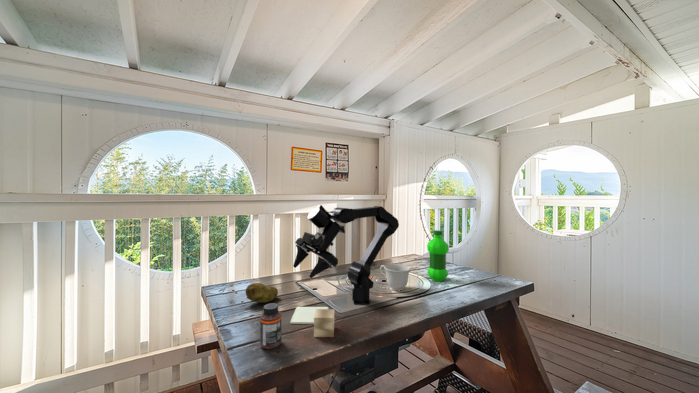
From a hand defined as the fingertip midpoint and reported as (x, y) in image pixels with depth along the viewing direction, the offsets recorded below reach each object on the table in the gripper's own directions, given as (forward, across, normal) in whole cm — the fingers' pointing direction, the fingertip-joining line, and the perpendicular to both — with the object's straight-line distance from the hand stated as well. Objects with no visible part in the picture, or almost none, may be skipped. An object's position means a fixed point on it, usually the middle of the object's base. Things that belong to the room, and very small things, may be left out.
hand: (301, 272), depth 94 cm
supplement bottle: (+22, +9, -3) cm, 24 cm away
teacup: (-19, +10, +46) cm, 51 cm away
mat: (+10, +4, +13) cm, 17 cm away
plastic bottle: (-36, +20, +64) cm, 76 cm away
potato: (+17, -19, +11) cm, 28 cm away
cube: (+11, +16, +8) cm, 21 cm away
